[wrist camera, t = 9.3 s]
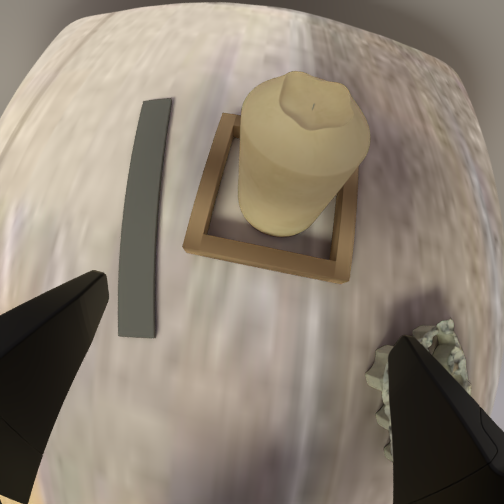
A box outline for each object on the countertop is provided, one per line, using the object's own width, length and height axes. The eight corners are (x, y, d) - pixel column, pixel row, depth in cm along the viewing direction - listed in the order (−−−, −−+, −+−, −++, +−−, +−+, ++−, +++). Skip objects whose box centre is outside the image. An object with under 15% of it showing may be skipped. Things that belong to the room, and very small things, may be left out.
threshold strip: (144, 104, 20) (143, 101, 20) (172, 101, 20) (171, 98, 20) (120, 336, 16) (118, 336, 16) (155, 337, 16) (153, 338, 16)
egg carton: (450, 427, 16) (480, 439, 12) (377, 470, 15) (402, 493, 11) (436, 314, 18) (472, 311, 14) (355, 351, 17) (384, 359, 13)
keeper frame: (340, 283, 18) (349, 281, 16) (186, 252, 18) (182, 246, 16) (351, 154, 20) (359, 143, 19) (223, 125, 20) (222, 112, 19)
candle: (222, 185, 19) (214, 74, 9) (289, 151, 20) (324, 44, 10) (266, 254, 18) (302, 183, 8) (334, 213, 19) (409, 129, 9)
